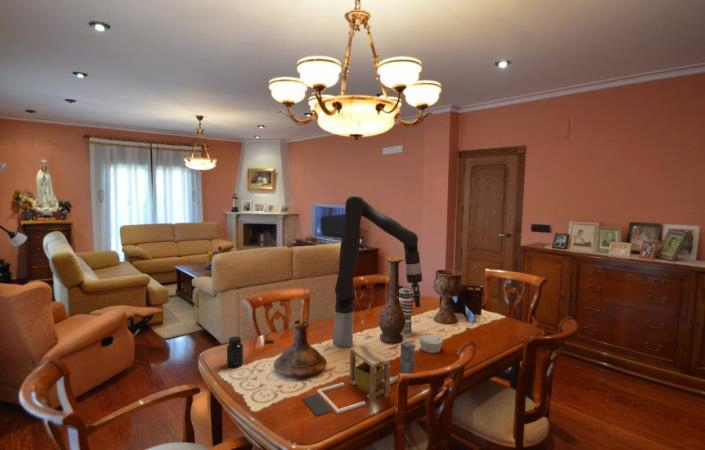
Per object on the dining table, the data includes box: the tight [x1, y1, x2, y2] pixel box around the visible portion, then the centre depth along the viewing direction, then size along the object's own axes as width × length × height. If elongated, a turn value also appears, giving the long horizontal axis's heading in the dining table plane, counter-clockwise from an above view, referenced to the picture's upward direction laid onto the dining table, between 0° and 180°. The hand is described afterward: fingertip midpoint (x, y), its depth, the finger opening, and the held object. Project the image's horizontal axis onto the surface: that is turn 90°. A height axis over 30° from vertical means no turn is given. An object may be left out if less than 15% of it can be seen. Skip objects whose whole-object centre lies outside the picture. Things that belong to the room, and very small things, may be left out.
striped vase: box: [399, 287, 414, 337], centre depth 204 cm, size 9×9×25 cm
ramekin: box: [419, 334, 443, 354], centre depth 185 cm, size 11×11×5 cm
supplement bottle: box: [226, 336, 244, 369], centre depth 163 cm, size 7×7×12 cm
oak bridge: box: [349, 344, 391, 403], centre depth 145 cm, size 8×16×14 cm, turn 31°
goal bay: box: [316, 382, 366, 415], centre depth 139 cm, size 12×16×1 cm
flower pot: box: [354, 362, 384, 394], centre depth 145 cm, size 9×9×9 cm
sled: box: [352, 341, 416, 399], centre depth 150 cm, size 25×12×14 cm, turn 121°
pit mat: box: [301, 393, 333, 417], centre depth 134 cm, size 6×12×1 cm, turn 31°
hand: (417, 304), depth 184 cm, fingers open, 8 cm apart
